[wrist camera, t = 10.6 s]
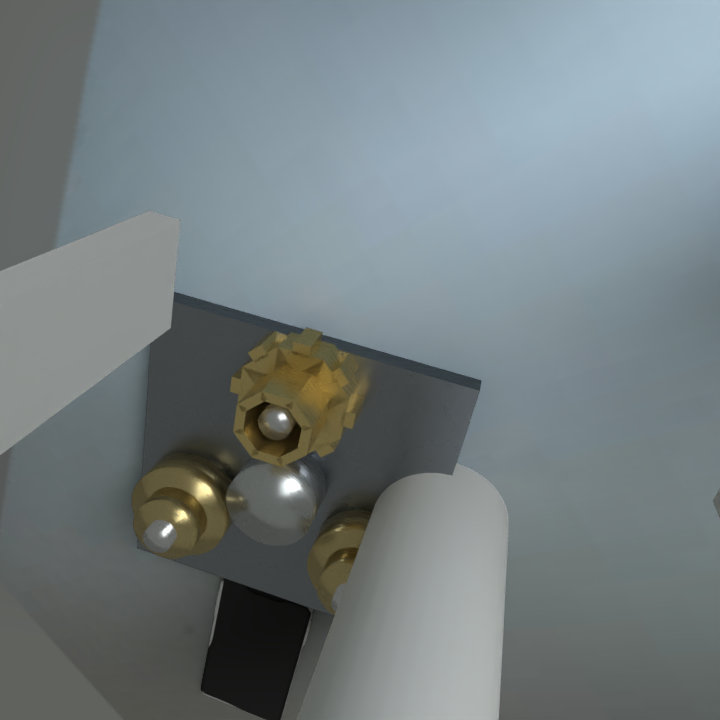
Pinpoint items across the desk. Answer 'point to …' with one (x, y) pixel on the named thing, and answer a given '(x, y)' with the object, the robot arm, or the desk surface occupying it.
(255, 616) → the smartphone
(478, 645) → the cylinder container
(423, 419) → the plate
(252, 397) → the gear
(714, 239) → the desk surface
